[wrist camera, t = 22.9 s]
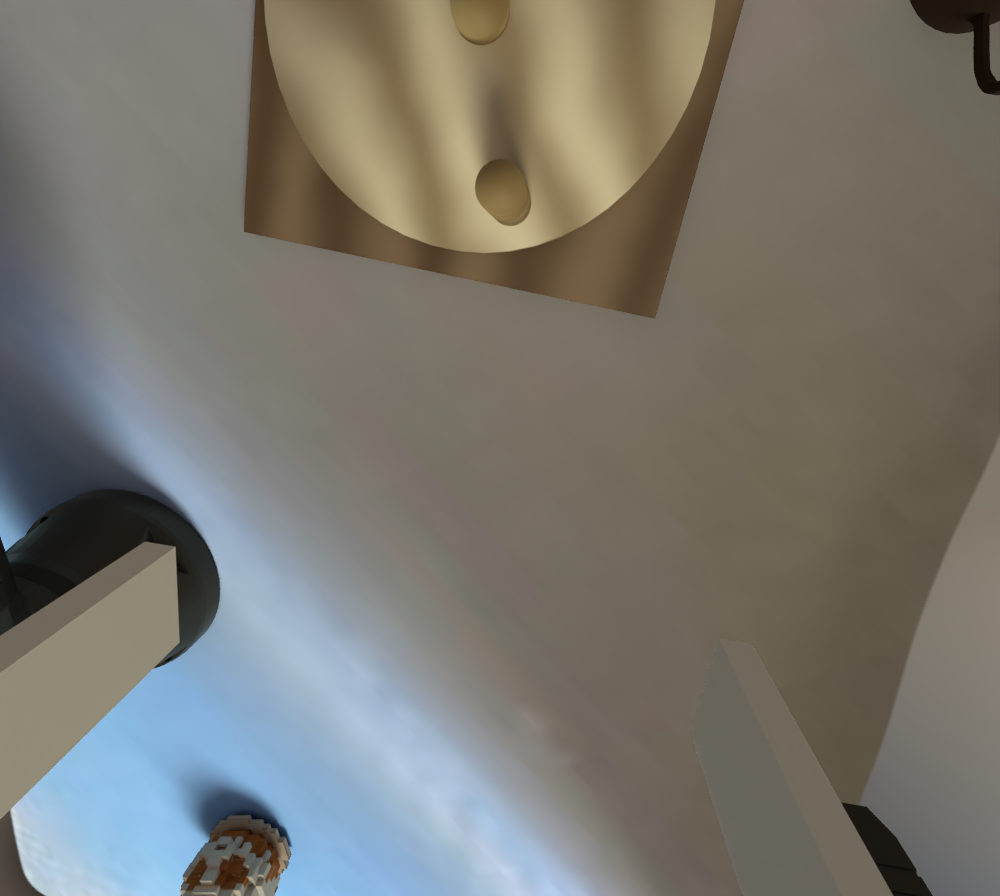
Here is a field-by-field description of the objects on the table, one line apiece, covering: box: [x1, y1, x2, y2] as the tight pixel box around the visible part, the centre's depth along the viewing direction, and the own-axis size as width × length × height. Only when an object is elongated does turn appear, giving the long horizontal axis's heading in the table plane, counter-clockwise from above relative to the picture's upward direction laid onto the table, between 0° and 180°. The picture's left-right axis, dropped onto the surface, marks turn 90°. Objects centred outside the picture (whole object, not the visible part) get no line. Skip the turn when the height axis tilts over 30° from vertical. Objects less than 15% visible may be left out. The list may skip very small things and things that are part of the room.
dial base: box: [244, 0, 744, 318], centre depth 31 cm, size 27×27×1 cm
